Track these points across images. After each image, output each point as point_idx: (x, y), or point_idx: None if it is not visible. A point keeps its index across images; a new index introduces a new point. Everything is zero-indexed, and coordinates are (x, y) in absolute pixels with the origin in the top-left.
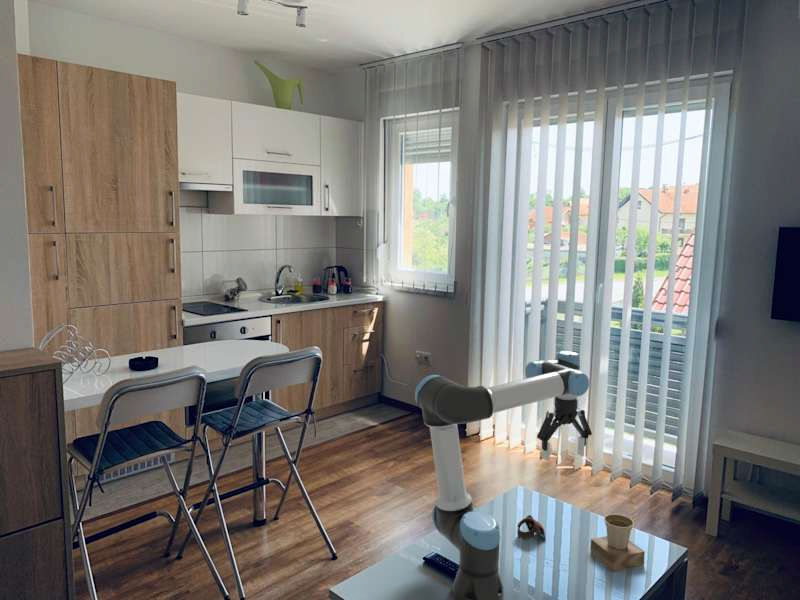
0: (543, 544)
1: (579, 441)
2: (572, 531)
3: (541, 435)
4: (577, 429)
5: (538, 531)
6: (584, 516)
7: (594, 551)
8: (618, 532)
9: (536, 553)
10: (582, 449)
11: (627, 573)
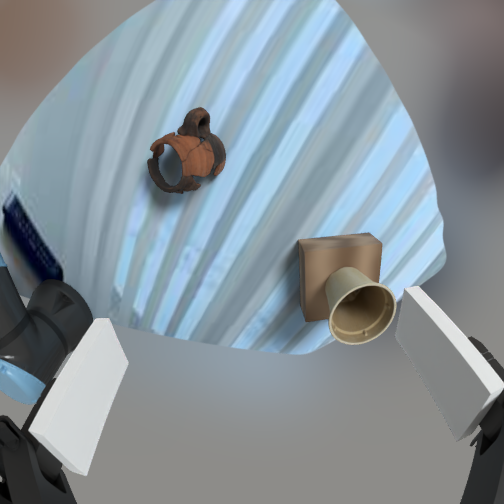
0: (208, 187)
1: (455, 377)
2: (310, 144)
3: (4, 490)
4: (476, 501)
5: (190, 189)
6: (375, 89)
7: (300, 256)
8: (339, 328)
9: (177, 221)
10: (418, 370)
11: None
